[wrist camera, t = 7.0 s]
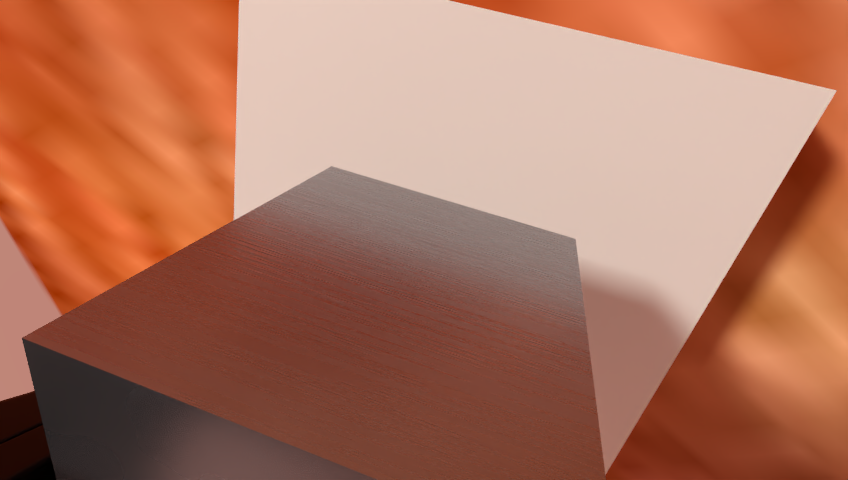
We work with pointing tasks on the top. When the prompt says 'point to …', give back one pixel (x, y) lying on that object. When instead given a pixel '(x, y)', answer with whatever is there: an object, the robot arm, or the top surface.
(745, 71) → the board
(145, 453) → the block
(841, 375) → the top surface
